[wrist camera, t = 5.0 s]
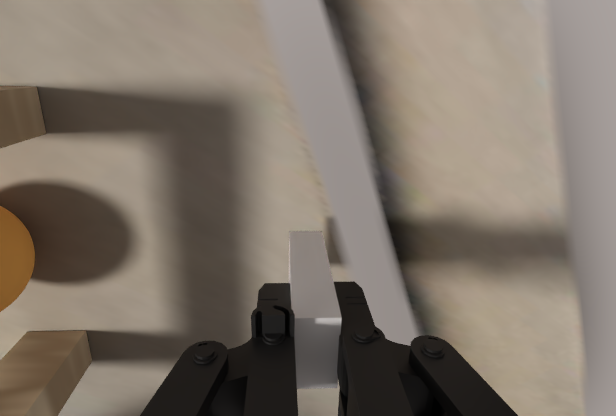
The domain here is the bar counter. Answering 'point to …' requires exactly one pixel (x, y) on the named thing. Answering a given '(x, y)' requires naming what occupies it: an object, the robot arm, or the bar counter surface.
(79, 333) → the bridge
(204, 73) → the bar counter surface
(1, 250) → the ball
